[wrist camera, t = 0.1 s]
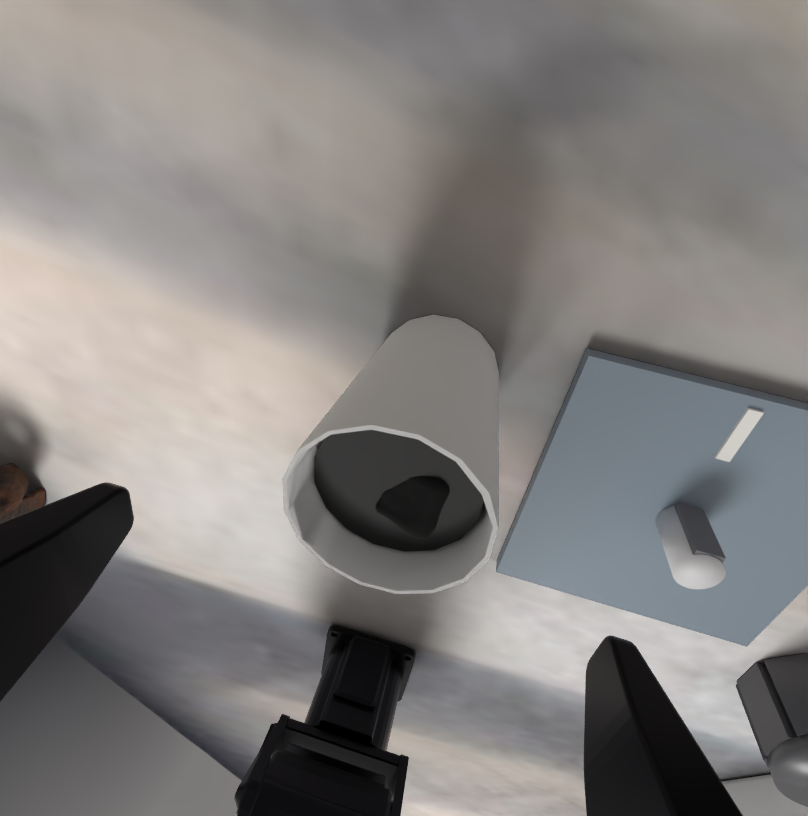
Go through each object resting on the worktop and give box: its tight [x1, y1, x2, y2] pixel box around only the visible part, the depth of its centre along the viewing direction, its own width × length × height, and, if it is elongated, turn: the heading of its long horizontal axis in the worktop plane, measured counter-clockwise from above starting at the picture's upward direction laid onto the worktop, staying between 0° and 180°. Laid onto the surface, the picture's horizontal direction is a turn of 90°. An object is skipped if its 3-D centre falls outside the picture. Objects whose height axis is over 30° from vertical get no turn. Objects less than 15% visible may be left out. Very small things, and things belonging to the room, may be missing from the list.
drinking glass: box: [282, 315, 499, 594], centre depth 19 cm, size 7×7×10 cm
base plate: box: [496, 348, 808, 646], centre depth 22 cm, size 14×14×4 cm
